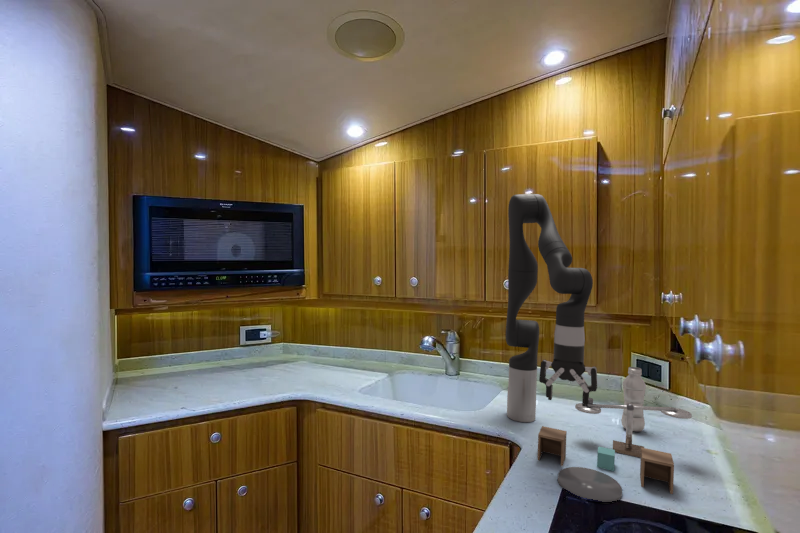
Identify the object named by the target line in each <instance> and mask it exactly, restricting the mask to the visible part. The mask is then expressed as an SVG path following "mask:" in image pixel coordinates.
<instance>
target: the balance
mask: <svg viewBox="0 0 800 533" xmlns="http://www.w3.org/2000/svg"><path fill="white" fill-rule="evenodd" d="M574 406H575V408H574V409H576V411H578V412H580V413H585V414H590V415H591V414H592V415H595V414H601V413H602V409H615V410H616V409H618V410H624V409H627V420H626V429H625V442H623V441H620V440H616V439H615V440H612V449H613V450H615V454H616V453H617V454H621V455H627V456H631V457H635V458H636V457H637V458H640V459H641V447H642V448H645V446H644V445H639V444H634V443H633V432H634V431H633V410H643V411H656V412H657V411H659V412H661V414H663V415H666V416H669V417H670V418H671V417H672V418H676V419H681V420H682V419H684V420H688V419H691V418H692V413H691V412H690V411H688V410H686V409H683V408H678V407H672V406H649V405H647V406H646V405H645V406H644V405H643V406H633V405H632V404H627V405H624V404H623V405H621V404H603V403H602V404H601V403H594V399H593V398H591V397H589V402H588V405H586V406H582V403H581V402H579V403H576V404H574Z"/></svg>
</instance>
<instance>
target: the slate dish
mask: <svg viewBox="0 0 800 533" xmlns="http://www.w3.org/2000/svg"><path fill="white" fill-rule="evenodd" d="M557 483H558V484H559V486H560V487H561V489H563V488H564V489H566V490H568V491H570V492H571V493H573V494H575V495H577V496H580V497H583V498H587V499H593V500H598V501H602V502H612V501H616V502H618V501H619V500H620V499H622V496H623V487H622V486H621V484H620V483H619V482H618V480H616V479H615V478H614V477H611V475H609V474H606V473H604V472H602V471H599V470H597V469H594V468H593V469H592V468H588V467H582V466H572V467H571V466H570V467H568V466H567V467H565V468H562V469H561V470H559V472H558V473H557ZM564 489H563V490H564ZM617 500H618V501H617ZM612 503H613V502H612Z"/></svg>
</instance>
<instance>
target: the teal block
mask: <svg viewBox="0 0 800 533" xmlns="http://www.w3.org/2000/svg"><path fill="white" fill-rule="evenodd" d="M615 457H616V452H615V450H613V448H608V447H603V446H597V456H596V459H597V460H596V468H599V469H603V470H608V471H612V472H615V461H616V460H615V459H616V458H615Z"/></svg>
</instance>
